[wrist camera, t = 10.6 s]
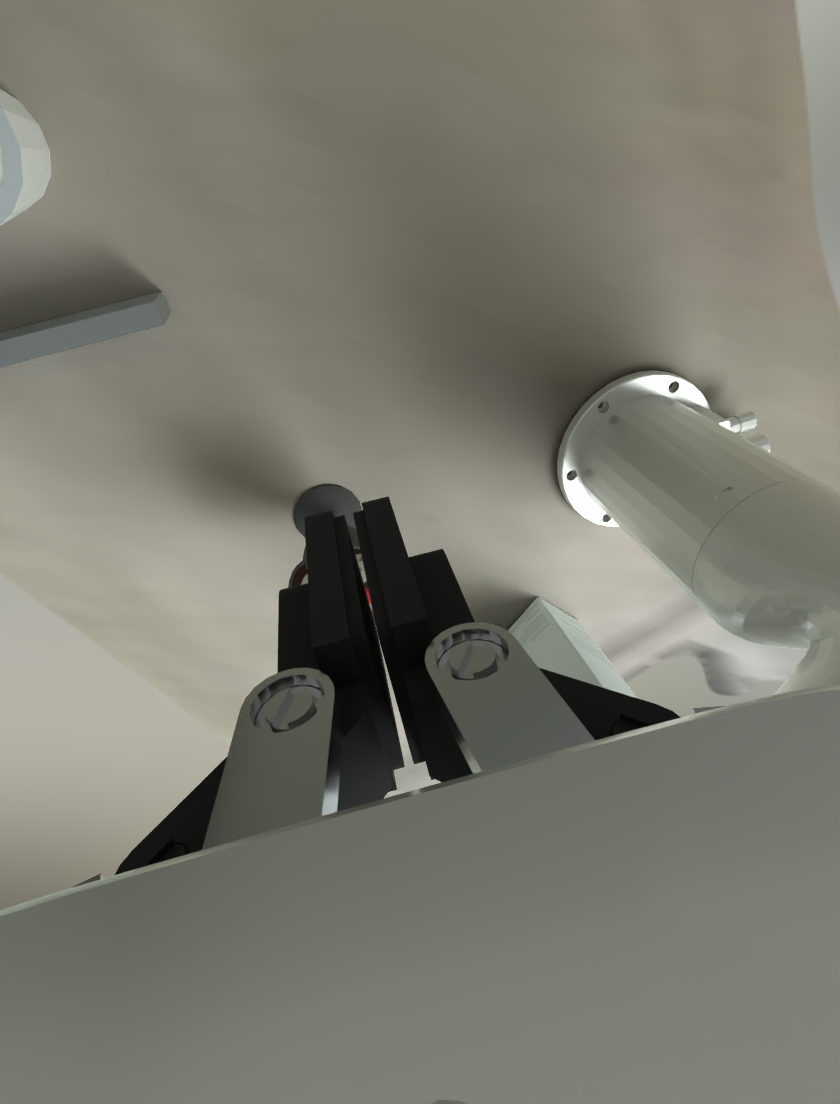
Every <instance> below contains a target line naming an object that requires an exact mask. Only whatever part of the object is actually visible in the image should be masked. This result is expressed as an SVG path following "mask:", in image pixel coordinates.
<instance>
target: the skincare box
mask: <svg viewBox="0 0 840 1104" xmlns="http://www.w3.org/2000/svg"><path fill="white" fill-rule="evenodd" d="M508 632H509V633H511V634H512V635H513V636H514V637H515V638H516V640H517V641H518V642H519V643H520V645H521V646H522V647H523V649H524V650H525V651H526V652H527V654H528V655H529V656H530V658H531V659H532V660H533V661H534V663H535V664H536V665H537V666H538V667H539V668H542V669H545V670H548V671H552V672H555V673H558V674H561V675H564V676H568V677H571V678H574V679H577V680H580V681H584V682H587V683H590V684H593V685H596V686H599V687H603V688H606V689H609V690H612V691H615V692H619V693H622V694H625V695H628V696H631V697H635V698H637V697H636V695H635V694H634V693H633V691H632V690H631V689H630V688H629V687H628V685H627V684H626V682H625V681H624V680H623V678H622V677H621V676H620V674H619V673H618V672H617V670H616V669H615V668H614V666H613V665H612V664H611V662H610V661H609V660H608V658H607V657H606V656H605V654H604V653H603V652H602V650H601V649H600V648H599V647H598V645H597V644H596V643H595V641H594V640H593V639H592V637H591V636H590V635H589V633H588V632H587V631H586V629H585V628H584V627H583V625H582V624H581V623H580V622H579V621H578V620H576V619H574V618H573V617H571V616H569V615H568V614H566V613H564V612H563V611H561V610H559V609H558V608H556V607H555V606H553V605H551V604H550V603H548V602H546V601H545V600H543V599H541V598H540V597H537V598H536V599H535V600H534V601H533V602H532V604H531V605H530V606H529V607H528V608H527V609H526V611H525V612H524V613H523V614H522V615H521V616H520V617H519V618H518V620H517V621H516V622H515V623H514V624H513V625H512V626H511V627H510V629H509V630H508Z"/></svg>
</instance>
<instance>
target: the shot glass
mask: <svg viewBox="0 0 840 1104" xmlns="http://www.w3.org/2000/svg"><path fill="white" fill-rule="evenodd" d="M51 176H52V175H51V159H50V150H49V147H48V145H47V142H46V140H45V138H44V135H43V133H42V131H41V128H40V126H39V124H38V123H37V122H36V121H35V119H34V118H33V117H32V116H31V114H30V113H29V112H28V111H27V110H26V108H25V107H24V106H23V105H22V104H21V102H20V101H18V100H17V99H15V98H14V97H12V96H11V95H9V94H8V93H6V92H5V91H3V90H2V89H0V226H1V225H3V224H4V223H6V222H8V221H9V220H11V219H12V218H14V217H16V216H17V215H19V214H20V213H22V212H24V211H25V210H27V209H28V208H30V207H31V206H32V205H33V204H34V203H36V202H37V201H38V200H39V199H40V198H42V197H43V196H44V194H45V191H46V189H47V186H48V183H49V181H50V178H51Z"/></svg>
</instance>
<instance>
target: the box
mask: <svg viewBox="0 0 840 1104" xmlns="http://www.w3.org/2000/svg"><path fill="white" fill-rule="evenodd" d="M169 314H170V310H169V307H168V305H167V302H166V300H165V298H164V295H163V293H162V291H159V292H155V293H151V294H148V295H144V296H140V297H136V298H132V299H128V300H124V301H120V302H116V303H112V304H109V305H105V306H101V307H97V308H93V309H89V310H85V311H81V312H77V313H73V314H70V315H66V316H62V317H58V318H54V319H50V320H46V321H42V322H38V323H34V324H31V325H27V326H23V327H19V328H15V329H11V330H7V331H3V332H0V367H3V366H7V365H11V364H15V363H18V362H22V361H26V360H30V359H34V358H38V357H41V356H45V355H49V354H53V353H57V352H61V351H64V350H68V349H72V348H76V347H80V346H84V345H87V344H91V343H95V342H99V341H103V340H107V339H111V338H114V337H118V336H122V335H126V334H130V333H134V332H137V331H141V330H145V329H149V328H153V327H157V326H160V325H163V324H164V322H165V321H166V319H167V317H168V316H169Z"/></svg>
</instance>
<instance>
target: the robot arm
mask: <svg viewBox="0 0 840 1104" xmlns="http://www.w3.org/2000/svg"><path fill="white" fill-rule="evenodd" d="M599 404H600V405H599ZM756 425H757V418H756V416H755V414H754V413H753V412H750V411H748V412H745V413H741V414H738V415H734V416H733V417H731V418H727V419H725V418H723V417H721V416H719V415H717V414H716V413H714V412H712V411H711V409H710V406H709V403H708V401H707V400H706V398H705V396H704V395H703V393H702V392H701V391H700V390H699V389H698V388H697V387H696V386H695V385H694V384H693V383H691V382H689V381H688V380H686V379H684V378H682V377H680V376H678V375H675V374H672V373H670V372H664V371H657V370H652V371H640V372H637V373H633V374H629V375H626V376H623V377H621V378H619V379H617V380H615V381H613V382H611V383H609V384H608V385H606V386H605V387H603V388H602V389H601V390H599V391H598V392H596V393H595V394H594V395H593V396H592V397H591V398H590V399H589V400H588V401H587V402H586V403H585V404H584V405H583V406H582V407H581V408H580V410H579V411H578V412H577V414H576V415H575V416H574V418H573V419H572V421H571V423H570V424H569V426H568V428H567V430H566V432H565V434H564V437H563V439H562V442H561V445H560V448H559V454H558V460H557V478H558V482H559V486H560V490H561V492H562V493H563V495H564V497H565V499H566V501H567V502H568V503H569V504H570V506H571V507H572V508H573V509H574V510H575V511H576V512H577V513H578V514H579V515H580V516H582V517H583V518H584V519H586V520H588V521H590V522H592V523H594V524H598V525H601V526H609V527H621V528H622V529H623V530H624V531H625V532H626V533H627V534H628V535H629V536H630V537H631V538H632V539H633V540H634V541H635V542H636V543H637V544H638V545H639V546H640V547H641V548H642V549H643V550H644V551H645V552H646V553H647V554H648V555H649V556H650V557H651V558H652V559H653V560H654V561H655V562H656V563H657V564H658V565H659V566H660V567H661V568H662V569H663V570H664V571H665V572H666V573H667V574H668V575H669V576H670V577H671V578H672V579H673V580H674V581H675V582H676V583H677V584H678V585H679V586H680V587H681V588H682V589H683V590H684V591H685V592H686V593H687V594H688V595H689V596H690V597H691V598H692V599H693V600H694V601H695V602H696V603H697V604H698V605H699V606H700V607H701V608H702V609H703V610H704V611H705V612H706V613H707V614H708V615H709V616H710V617H711V618H712V619H713V620H714V621H715V622H716V623H718V624H719V625H720V626H721V627H723V628H724V629H725V630H727V631H729V632H730V633H732V634H734V635H736V636H738V637H740V638H742V639H745V640H747V641H750V642H753V643H757V644H762V645H766V646H772V647H781V648H791V649H809V650H808V652H807V653H806V655H805V657H804V658H803V659H802V660H801V662H800V663H799V664H798V665H797V667H796V668H795V669H794V670H793V671H792V672H791V674H790V675H789V678H788V679H787V680H786V681H785V682H784V683H783V685H781V687H780V688H779V689H778V690H777V691H776V692H775V693H774V695H772V696H767V697H763V698H759V699H754V700H750V701H746V702H742V703H737V704H733V705H728V706H719V707H718V706H717V707H704V708H693V713H692V715H689V716H685V717H679V716H678V715H677V714H675V713H674V712H673V711H671V710H668V709H666V708H664V707H662V706H659V705H657V704H654V703H650V702H647V701H644V700H641V699H638V698H635V697H631V696H628V695H625V694H622V693H619V692H615V691H612V690H609V689H606V688H603V687H599V686H596V685H593V684H590V683H587V682H584V681H580V680H577V679H574V678H571V677H568V676H564V675H561V674H558V673H555V672H552V671H548V670H545V669H542V668H539V667H538V666H537V665H536V664H535V663H534V661H533V660H532V659H531V658H530V656H529V655H528V654H527V652H526V651H525V650H524V649H523V647H522V646H521V645H520V643H519V642H518V641H517V640H516V638H515V637H514V636H513V635H512V634H511V633H509V632H508V631H507V630H506V629H504V628H502V627H499V626H497V625H495V624H490V623H484V622H474V619H473V617H472V615H471V612H470V610H469V608H468V605H467V603H466V601H465V598H464V596H463V594H462V591H461V589H460V587H459V585H458V582H457V580H456V578H455V575H454V573H453V571H452V568H451V566H450V564H449V561H448V559H447V557H446V554H445V552H444V550H443V549H440V550H436V551H432V552H428V553H424V554H420V555H416V556H412V557H408V555H407V552H406V549H405V546H404V542H403V539H402V536H401V533H400V530H399V527H398V524H397V521H396V518H395V515H394V512H393V509H392V506H391V503H390V500H389V497H385V498H381V499H377V500H372V501H368V502H364V503H362V506H363V510H362V511H358V512H354V513H353V516H354V521H355V526H356V531H357V536H358V541H359V546H360V550H361V555H362V560H363V565H364V570H365V575H366V580H367V585H368V590H369V595H370V599H371V604H372V609H373V614H374V618H373V615H372V611H371V608H370V604H369V601H368V597H367V593H366V590H365V586H364V583H363V579H362V575H361V572H360V568H359V565H358V561H357V558H356V554H355V550H354V547H353V543H352V540H351V536H350V532H349V529H348V525H347V522H346V518H345V515H342V516H338V517H334V515H333V512H332V511H328V512H324V513H320V514H316V515H312V516H308V517H305V519H304V520H305V538H306V555H307V573H308V583H306V584H302V585H298V586H294V587H290V588H286V589H282V590H280V591H279V623H278V673H277V674H275V675H273V676H271V677H269V678H266V679H265V680H264V681H263V682H261V683H260V684H259V685H257V686H256V687H255V688H254V689H253V690H252V691H251V692H250V694H249V695H248V696H247V697H246V698H245V701H244V703H243V705H242V707H241V709H240V713H239V716H238V720H237V724H236V727H235V731H234V735H233V738H232V742H231V745H230V749H229V753H228V756H227V757H226V758H225V759H224V760H223V761H222V762H221V763H220V764H219V765H218V766H217V767H216V768H215V769H214V770H213V771H212V772H211V773H210V774H209V775H208V776H207V777H206V778H205V779H204V780H203V781H202V782H201V783H200V784H199V785H198V786H197V787H196V788H195V789H194V790H193V791H192V792H191V793H190V794H189V795H188V796H187V797H186V798H185V799H184V800H183V801H182V802H181V803H180V804H179V805H178V806H177V807H176V808H175V809H174V810H173V811H172V812H171V813H170V814H169V815H168V816H167V817H166V818H165V819H164V820H163V821H162V822H161V823H160V824H159V825H158V826H157V827H156V828H155V829H154V830H153V831H152V832H151V833H150V834H148V835H147V836H146V838H144V839H143V840H142V841H141V842H140V843H139V844H138V845H137V847H135V848H134V849H133V850H132V852H131V853H130V854H129V855H128V857H127V858H126V859H125V860H124V861H123V862H122V864H121V865H120V866H119V868H118V870H117V872H116V874H115V875H114V876H110V877H107V878H104V877H103V876H102V875H101V874H99V875H96V876H94V877H92V878H90V879H88V880H86V881H84V882H82V883H80V884H78V885H76V886H74V887H72V888H70V889H66V890H63V891H59V892H56V893H53V894H50V895H47V896H43V897H40V898H37V899H34V900H31V901H28V902H25V903H22V904H19V905H15V906H13V907H9V908H6V909H3V910H0V1104H840V491H838V490H837V489H835V488H833V487H831V486H829V485H828V484H826V483H824V482H822V481H820V480H819V479H817V478H815V477H813V476H811V475H810V474H808V473H806V472H804V471H803V470H801V469H799V468H797V467H795V466H794V465H792V464H790V463H788V462H786V461H785V460H783V459H781V458H779V457H777V456H776V455H774V454H772V453H770V443H769V441H768V439H767V438H766V437H765V436H764V435H761V434H758V435H754V436H751V437H748V438H743V437H742V436H740V435H738V434H739V433H742V432H745V431H749V430H752V429H754V428H755V427H756ZM736 433H737V434H736ZM374 619H375V622H374ZM375 624H376V626H375ZM376 628H377V630H376ZM377 632H378V634H377ZM378 636H379V639H378ZM379 640H380V644H381V648H382V651H383V655H384V658H385V662H386V666H387V669H388V673H389V676H390V680H391V683H392V687H393V691H394V694H395V698H396V701H397V705H398V708H399V712H400V716H401V719H402V723H403V726H404V730H405V734H406V737H407V741H408V744H409V748H410V751H411V755H412V759H413V762H414V764H417V763H420V762H424V761H426V764H427V768H428V772H429V775H430V777H431V780H433V779H436V780H438V781H441V782H442V783H439V784H435V785H431V786H428V787H424V788H421V789H417V790H413V791H410V792H406V793H403V794H399V795H396V796H392V797H389V798H385V799H383V798H384V797H385V795H386V794H387V793H388V792H390V791H394V790H397V788H396V782H395V777H394V771H393V770H395V769H399V768H402V767H404V761H403V756H402V751H401V746H400V742H399V737H398V732H397V727H396V722H395V717H394V712H393V707H392V702H391V697H390V693H389V688H388V683H387V678H386V673H385V668H384V663H383V658H382V653H381V648H380V644H379Z"/></svg>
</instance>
